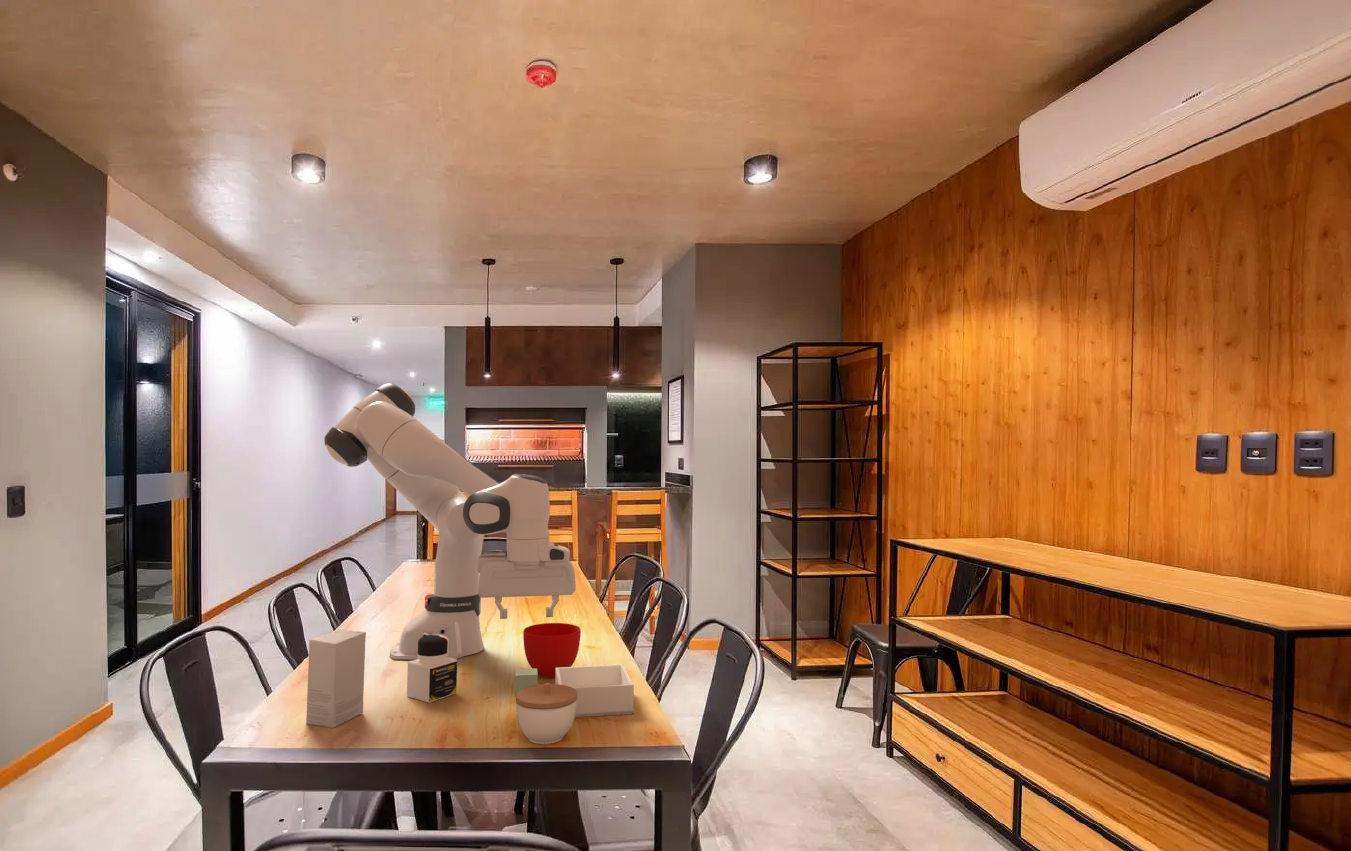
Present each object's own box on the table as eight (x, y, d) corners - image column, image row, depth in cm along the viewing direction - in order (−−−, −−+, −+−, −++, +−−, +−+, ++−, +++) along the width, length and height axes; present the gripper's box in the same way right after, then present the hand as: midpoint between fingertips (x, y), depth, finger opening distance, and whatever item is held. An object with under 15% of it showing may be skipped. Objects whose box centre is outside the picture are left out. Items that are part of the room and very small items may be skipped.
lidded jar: (525, 725, 134) (526, 673, 135) (582, 727, 133) (583, 676, 134) (506, 748, 123) (507, 692, 124) (568, 751, 122) (569, 694, 123)
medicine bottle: (429, 703, 145) (431, 642, 145) (405, 696, 149) (407, 637, 149) (457, 693, 151) (458, 635, 151) (434, 687, 155) (435, 630, 155)
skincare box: (337, 709, 141) (340, 628, 141) (366, 713, 139) (368, 631, 139) (303, 724, 133) (307, 638, 133) (333, 729, 131) (336, 641, 131)
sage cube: (514, 697, 149) (515, 675, 150) (514, 690, 154) (515, 669, 154) (537, 696, 150) (537, 674, 150) (536, 689, 155) (537, 668, 155)
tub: (559, 718, 138) (559, 689, 138) (555, 694, 151) (555, 667, 152) (633, 713, 141) (633, 684, 141) (622, 690, 155) (622, 664, 155)
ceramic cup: (578, 659, 177) (578, 618, 178) (581, 681, 161) (581, 635, 161) (523, 661, 175) (524, 619, 176) (521, 683, 158) (522, 637, 159)
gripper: (476, 554, 148) (474, 622, 147) (577, 552, 152) (576, 618, 152) (477, 550, 154) (476, 616, 153) (574, 548, 158) (573, 612, 158)
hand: (526, 617), depth 152 cm, fingers open, 8 cm apart
